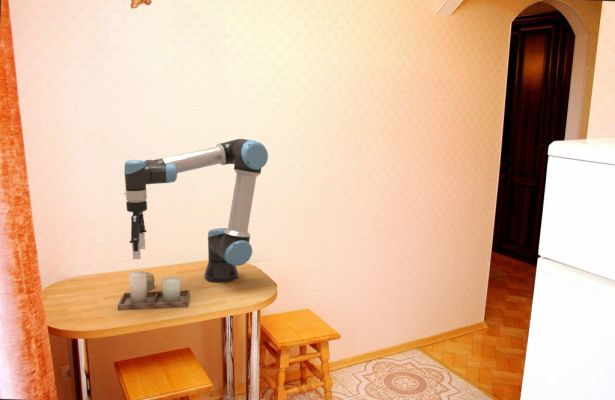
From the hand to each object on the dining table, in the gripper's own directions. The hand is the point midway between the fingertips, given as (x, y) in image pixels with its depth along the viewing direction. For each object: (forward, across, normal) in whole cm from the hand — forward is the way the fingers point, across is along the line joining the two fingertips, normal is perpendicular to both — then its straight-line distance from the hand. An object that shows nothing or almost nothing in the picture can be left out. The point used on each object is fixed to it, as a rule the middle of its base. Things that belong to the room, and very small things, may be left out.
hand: (139, 253), depth 205 cm
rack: (+21, +1, +5) cm, 22 cm away
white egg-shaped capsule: (+20, +1, +12) cm, 23 cm away
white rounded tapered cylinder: (+20, +1, -1) cm, 20 cm away
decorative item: (+21, -16, -2) cm, 26 cm away
